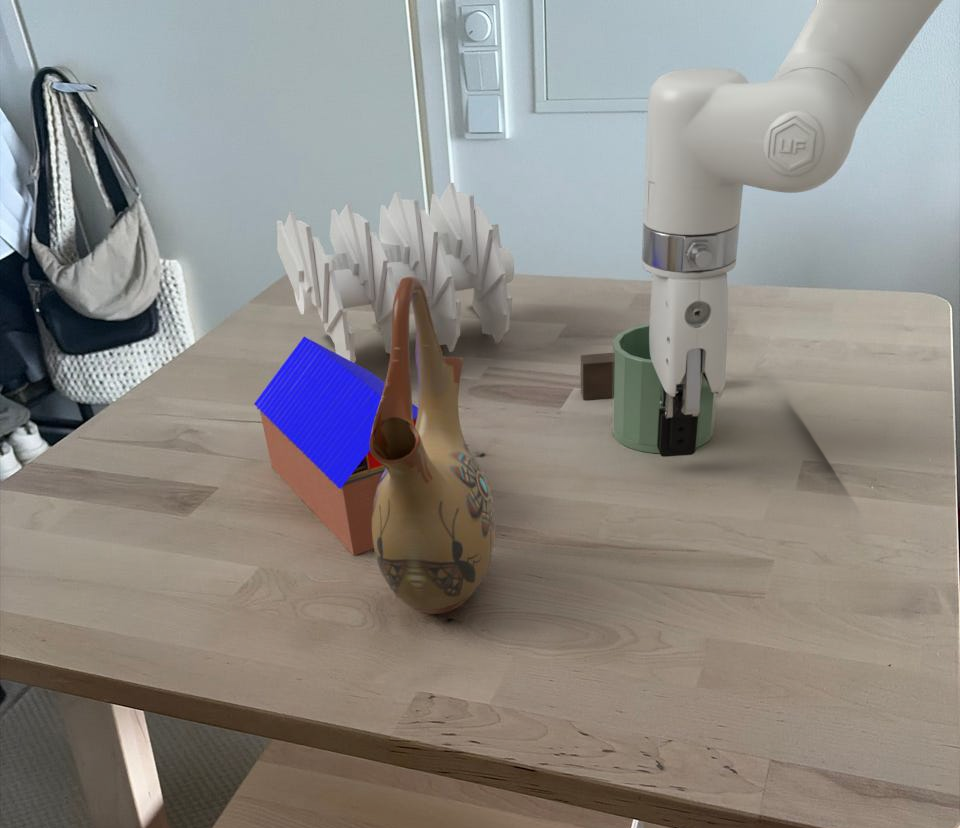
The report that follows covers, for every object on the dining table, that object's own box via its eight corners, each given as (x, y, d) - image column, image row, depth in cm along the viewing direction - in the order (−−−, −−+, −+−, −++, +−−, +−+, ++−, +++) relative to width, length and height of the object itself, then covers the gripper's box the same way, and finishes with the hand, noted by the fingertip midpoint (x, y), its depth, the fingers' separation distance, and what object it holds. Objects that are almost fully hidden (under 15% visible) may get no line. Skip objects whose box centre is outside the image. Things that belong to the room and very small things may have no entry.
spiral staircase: (522, 375, 124) (321, 413, 116) (469, 274, 131) (277, 303, 123) (556, 251, 108) (326, 285, 100) (493, 145, 115) (274, 168, 107)
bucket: (703, 405, 105) (710, 319, 99) (721, 450, 97) (729, 359, 92) (607, 411, 105) (608, 325, 100) (617, 456, 98) (619, 366, 92)
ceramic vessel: (477, 664, 74) (448, 326, 59) (357, 656, 76) (298, 325, 61) (515, 542, 87) (499, 237, 71) (412, 537, 88) (374, 238, 73)
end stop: (711, 380, 110) (714, 344, 107) (716, 390, 108) (719, 353, 105) (580, 390, 110) (580, 354, 107) (583, 400, 108) (583, 363, 105)
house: (351, 558, 86) (330, 431, 79) (267, 467, 100) (242, 352, 93) (475, 514, 91) (465, 390, 84) (377, 433, 105) (362, 321, 98)
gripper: (760, 272, 76) (736, 489, 88) (715, 215, 88) (699, 413, 100) (659, 280, 76) (648, 495, 88) (628, 221, 88) (622, 418, 100)
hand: (675, 451), depth 94 cm, fingers closed
